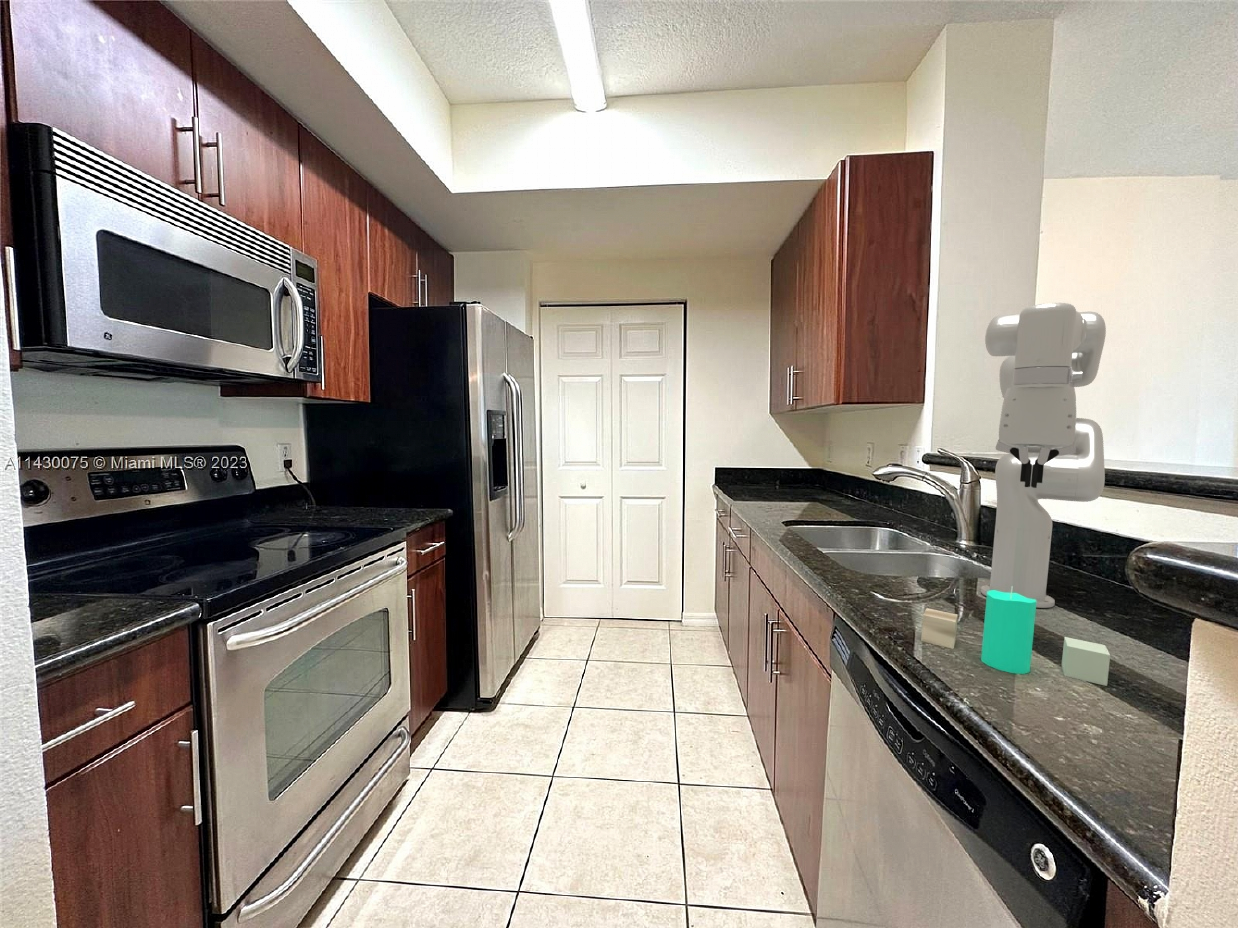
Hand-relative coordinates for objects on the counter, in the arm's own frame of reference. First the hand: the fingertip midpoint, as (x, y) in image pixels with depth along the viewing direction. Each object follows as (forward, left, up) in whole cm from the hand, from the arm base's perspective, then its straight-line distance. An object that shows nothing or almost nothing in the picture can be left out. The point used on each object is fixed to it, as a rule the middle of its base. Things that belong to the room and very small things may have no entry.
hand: (1030, 486), depth 89 cm
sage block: (+14, +7, -26) cm, 31 cm away
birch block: (+14, -11, -26) cm, 32 cm away
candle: (+18, -2, -26) cm, 32 cm away
